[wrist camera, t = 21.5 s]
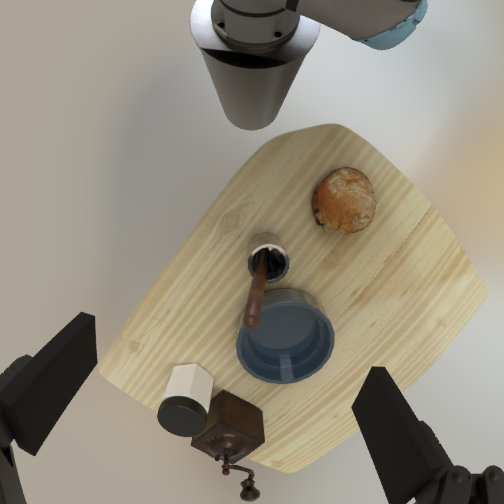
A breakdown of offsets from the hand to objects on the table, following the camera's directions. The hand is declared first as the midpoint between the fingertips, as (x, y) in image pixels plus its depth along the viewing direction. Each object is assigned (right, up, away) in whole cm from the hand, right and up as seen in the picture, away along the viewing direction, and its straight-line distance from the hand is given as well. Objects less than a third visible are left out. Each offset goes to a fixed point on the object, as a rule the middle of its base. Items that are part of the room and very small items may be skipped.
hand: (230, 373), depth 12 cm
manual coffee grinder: (-2, -30, +44) cm, 53 cm away
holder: (+3, +6, +34) cm, 35 cm away
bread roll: (+15, +13, +33) cm, 38 cm away
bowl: (+6, -8, +38) cm, 39 cm away
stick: (+3, +5, +34) cm, 34 cm away
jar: (-11, -19, +41) cm, 46 cm away
